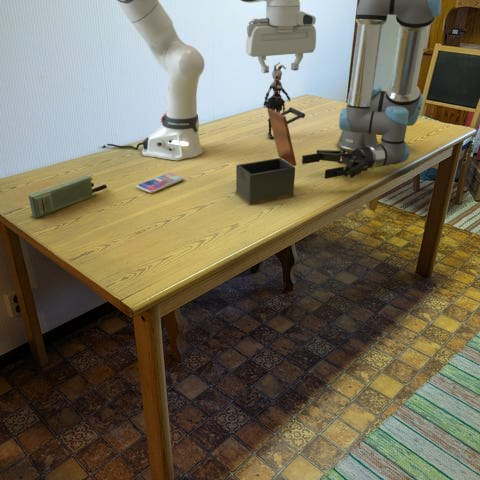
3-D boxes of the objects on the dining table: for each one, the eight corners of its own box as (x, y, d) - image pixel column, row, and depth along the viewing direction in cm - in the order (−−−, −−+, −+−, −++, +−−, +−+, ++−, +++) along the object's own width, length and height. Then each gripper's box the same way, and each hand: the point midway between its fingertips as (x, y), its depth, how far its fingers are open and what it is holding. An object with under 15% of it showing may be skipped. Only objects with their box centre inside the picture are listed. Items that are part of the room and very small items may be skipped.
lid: (282, 117, 143) (305, 106, 145) (267, 109, 150) (288, 99, 152) (294, 166, 153) (315, 155, 154) (278, 156, 160) (299, 146, 162)
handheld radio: (30, 215, 144) (102, 188, 161) (37, 219, 142) (109, 191, 159) (26, 193, 140) (100, 168, 157) (33, 197, 138) (107, 171, 155)
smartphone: (184, 177, 167) (150, 191, 157) (184, 180, 167) (151, 194, 157) (168, 171, 171) (134, 185, 161) (168, 174, 171) (135, 188, 161)
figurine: (266, 142, 202) (269, 63, 187) (256, 138, 206) (258, 61, 191) (291, 134, 211) (296, 59, 196) (280, 131, 215) (284, 57, 200)
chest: (249, 204, 152) (250, 175, 147) (236, 193, 159) (236, 164, 154) (293, 196, 158) (295, 167, 153) (278, 185, 165) (280, 157, 160)
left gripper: (252, 20, 128) (251, 76, 135) (321, 17, 136) (316, 70, 143) (242, 17, 133) (241, 72, 140) (308, 15, 141) (304, 66, 148)
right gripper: (390, 181, 162) (334, 192, 154) (344, 156, 181) (293, 164, 173) (394, 159, 158) (337, 169, 150) (347, 136, 178) (294, 143, 170)
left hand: (280, 71), depth 141 cm, fingers open, 8 cm apart
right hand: (313, 166), depth 162 cm, fingers open, 13 cm apart
